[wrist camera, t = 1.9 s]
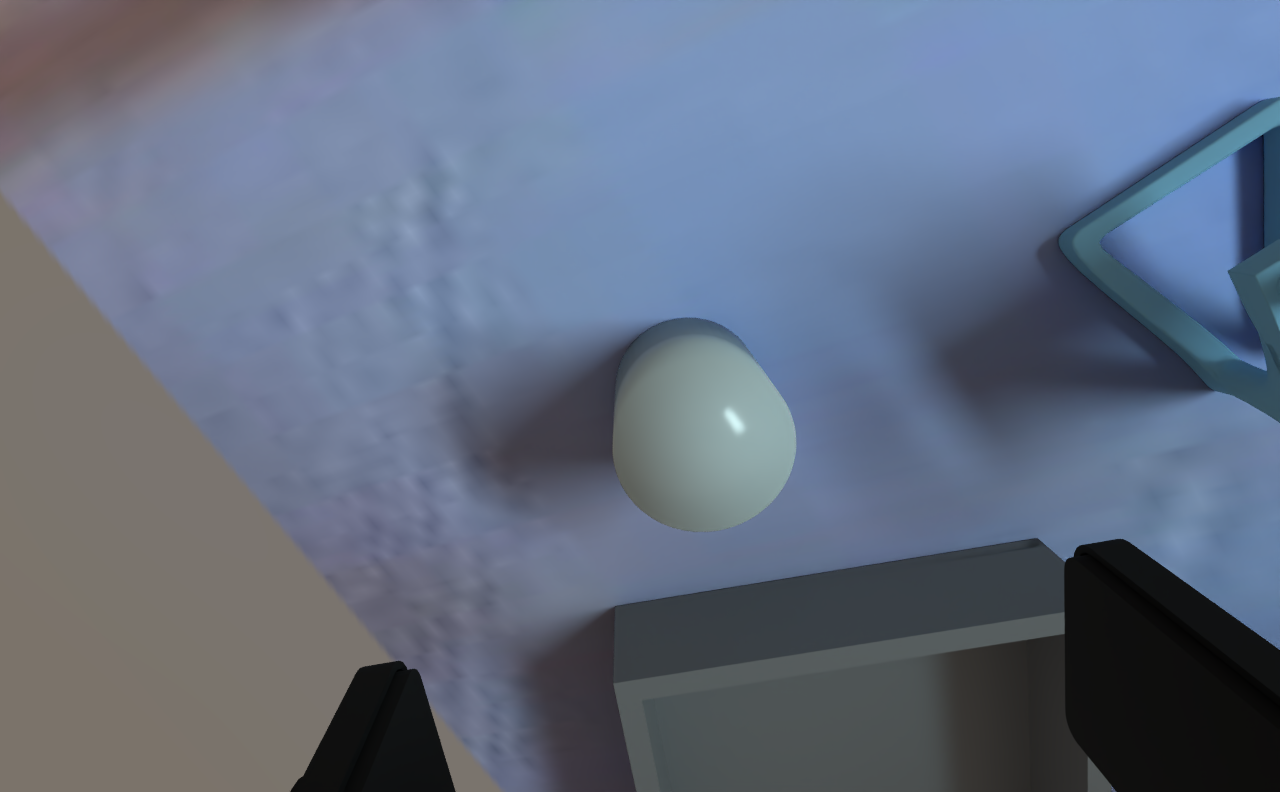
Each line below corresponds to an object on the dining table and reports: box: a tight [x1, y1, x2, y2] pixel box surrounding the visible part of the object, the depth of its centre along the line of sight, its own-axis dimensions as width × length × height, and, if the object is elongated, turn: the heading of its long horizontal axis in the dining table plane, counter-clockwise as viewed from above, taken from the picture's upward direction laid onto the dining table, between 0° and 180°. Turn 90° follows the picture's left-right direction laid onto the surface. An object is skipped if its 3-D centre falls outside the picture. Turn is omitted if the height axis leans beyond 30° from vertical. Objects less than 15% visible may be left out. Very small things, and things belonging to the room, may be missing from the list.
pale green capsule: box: [613, 318, 796, 532], centre depth 23 cm, size 5×5×6 cm
